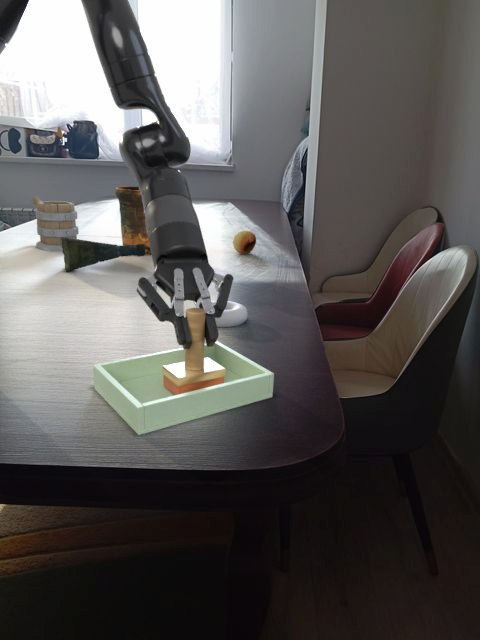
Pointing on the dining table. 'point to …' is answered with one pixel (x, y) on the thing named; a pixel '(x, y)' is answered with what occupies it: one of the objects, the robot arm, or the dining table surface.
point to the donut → (232, 315)
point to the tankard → (54, 223)
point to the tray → (168, 409)
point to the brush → (194, 361)
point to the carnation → (95, 252)
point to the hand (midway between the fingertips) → (200, 344)
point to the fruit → (244, 241)
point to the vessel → (132, 216)
